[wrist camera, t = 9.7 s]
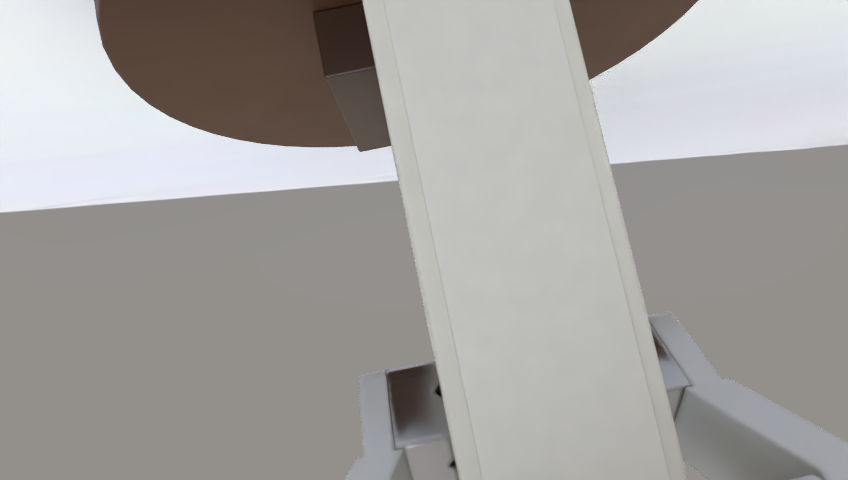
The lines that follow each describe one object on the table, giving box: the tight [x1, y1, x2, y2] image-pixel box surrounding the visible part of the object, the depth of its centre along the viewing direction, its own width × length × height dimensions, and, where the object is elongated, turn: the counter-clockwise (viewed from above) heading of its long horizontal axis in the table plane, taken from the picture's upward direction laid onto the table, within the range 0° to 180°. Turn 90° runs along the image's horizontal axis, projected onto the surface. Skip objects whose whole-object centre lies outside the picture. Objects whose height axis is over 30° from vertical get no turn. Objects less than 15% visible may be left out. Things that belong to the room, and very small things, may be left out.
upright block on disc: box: [94, 0, 698, 480], centre depth 14 cm, size 16×16×13 cm
